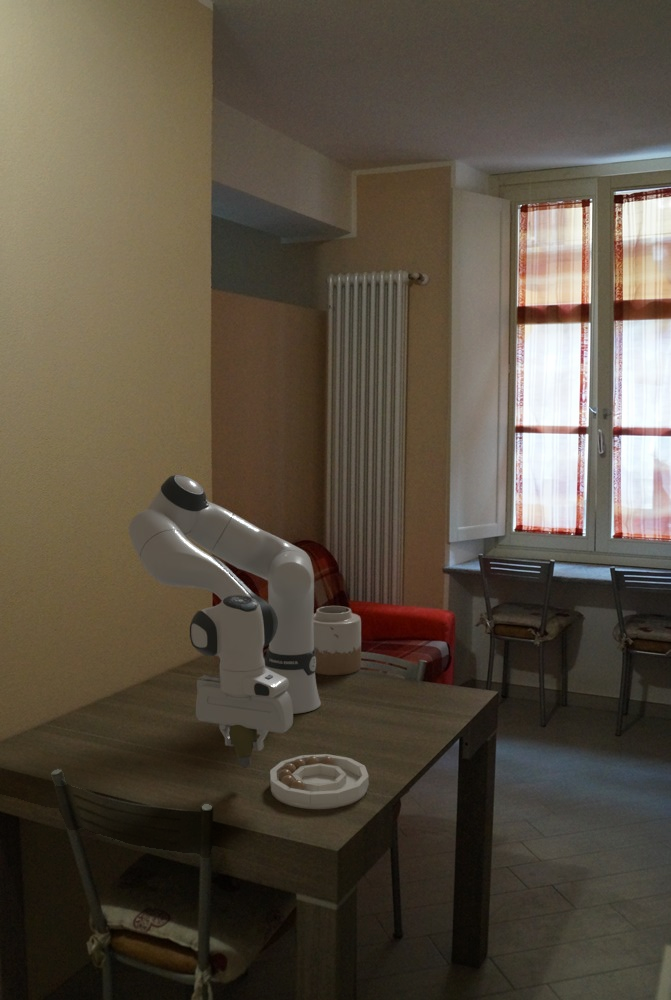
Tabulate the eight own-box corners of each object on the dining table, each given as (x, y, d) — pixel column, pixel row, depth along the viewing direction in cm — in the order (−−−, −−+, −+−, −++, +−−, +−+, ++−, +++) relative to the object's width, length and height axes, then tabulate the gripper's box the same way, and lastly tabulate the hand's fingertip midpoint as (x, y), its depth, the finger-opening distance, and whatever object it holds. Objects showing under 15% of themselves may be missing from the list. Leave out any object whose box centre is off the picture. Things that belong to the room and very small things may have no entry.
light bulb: (231, 762, 188) (229, 714, 187) (258, 760, 189) (257, 713, 187) (230, 774, 183) (228, 725, 181) (258, 772, 183) (257, 723, 182)
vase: (302, 674, 259) (301, 615, 257) (312, 658, 274) (312, 602, 272) (356, 677, 256) (356, 617, 254) (364, 661, 271) (364, 604, 269)
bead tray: (253, 798, 180) (253, 780, 180) (296, 762, 197) (296, 745, 197) (344, 816, 173) (344, 796, 172) (381, 777, 190) (381, 759, 189)
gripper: (188, 678, 185) (190, 745, 186) (281, 690, 177) (282, 760, 179) (205, 669, 191) (206, 734, 192) (296, 680, 183) (297, 748, 184)
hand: (244, 747), depth 185 cm, fingers closed on light bulb, 5 cm apart
